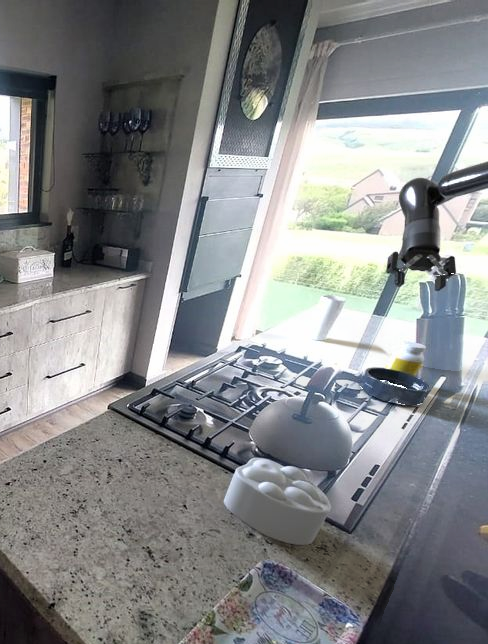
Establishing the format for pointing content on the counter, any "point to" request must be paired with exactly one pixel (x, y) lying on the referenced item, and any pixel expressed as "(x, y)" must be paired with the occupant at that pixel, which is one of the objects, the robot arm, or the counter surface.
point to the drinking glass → (325, 316)
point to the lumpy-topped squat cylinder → (277, 501)
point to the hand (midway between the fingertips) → (419, 287)
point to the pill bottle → (407, 358)
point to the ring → (410, 396)
